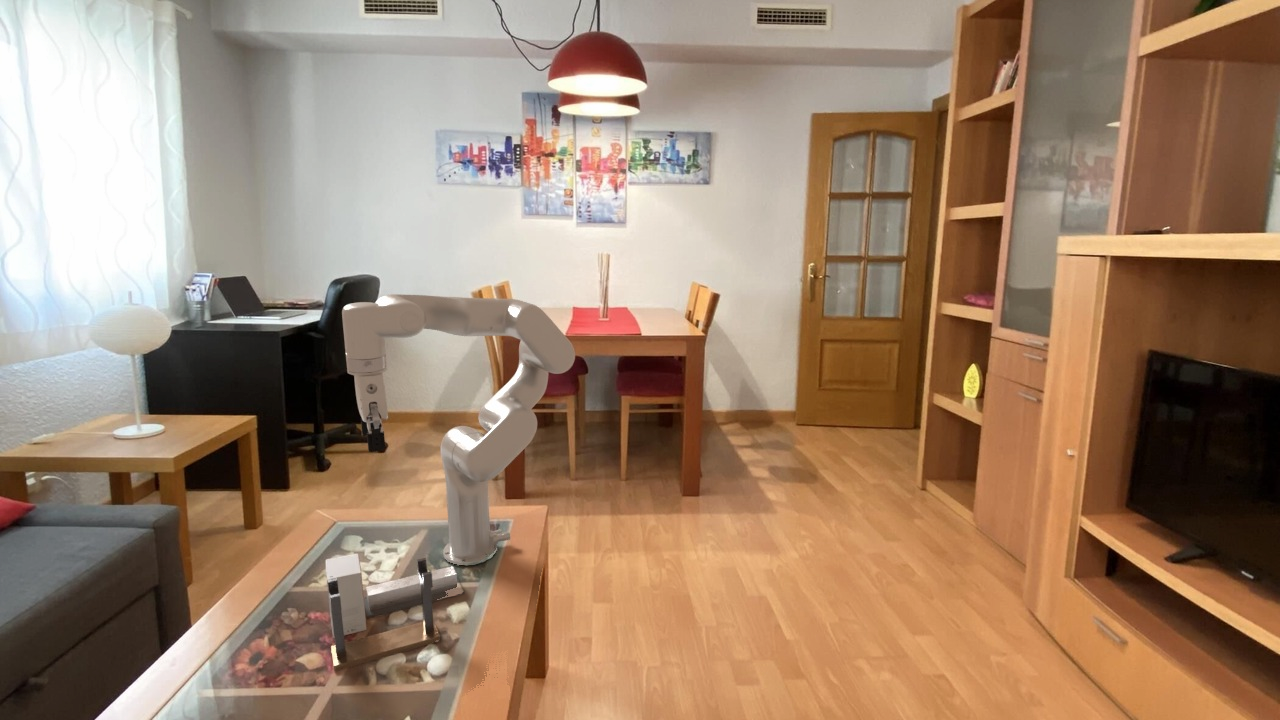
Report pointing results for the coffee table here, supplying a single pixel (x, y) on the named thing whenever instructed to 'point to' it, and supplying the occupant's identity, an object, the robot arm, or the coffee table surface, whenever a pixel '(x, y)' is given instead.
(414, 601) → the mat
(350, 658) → the rack
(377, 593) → the rail
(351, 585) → the small box
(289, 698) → the coffee table surface
